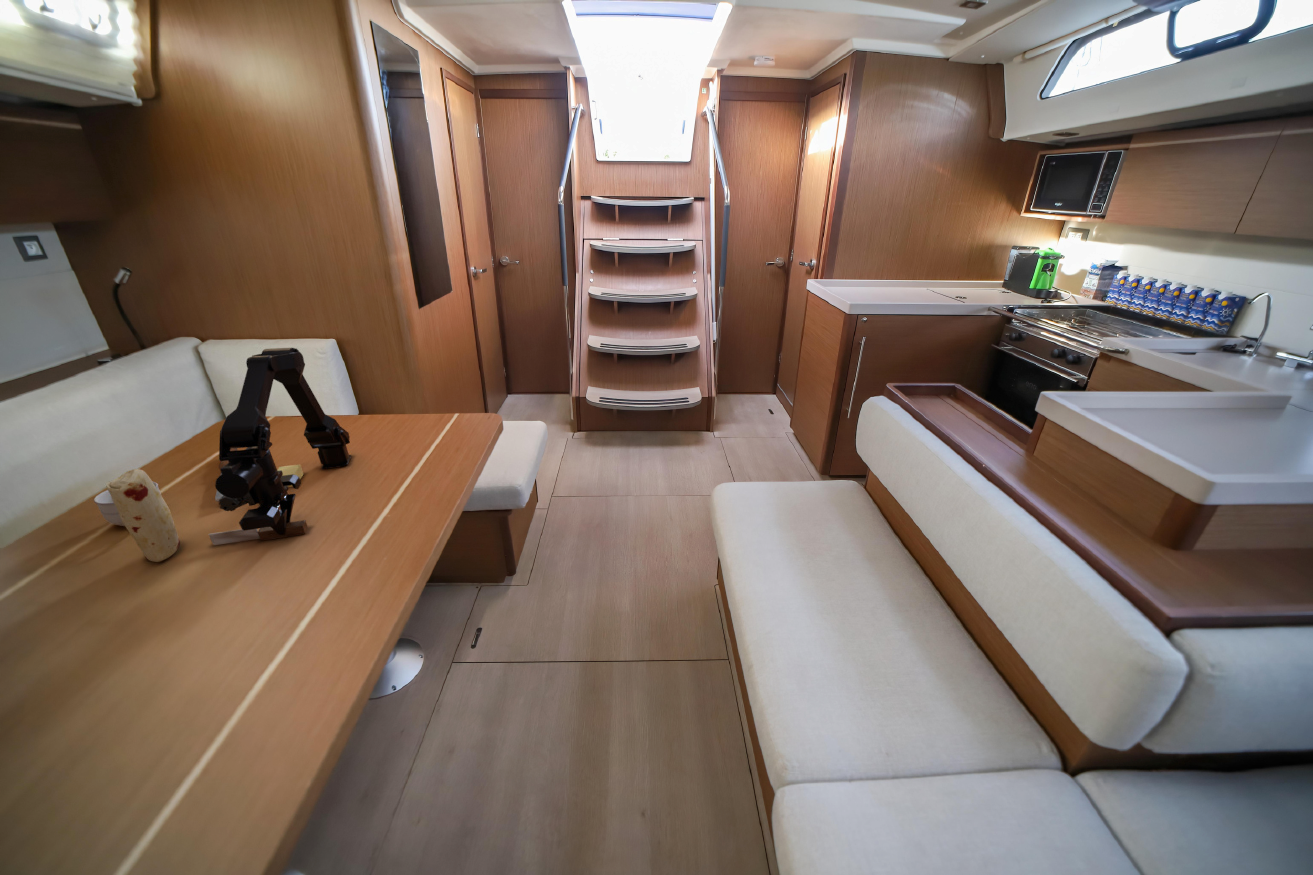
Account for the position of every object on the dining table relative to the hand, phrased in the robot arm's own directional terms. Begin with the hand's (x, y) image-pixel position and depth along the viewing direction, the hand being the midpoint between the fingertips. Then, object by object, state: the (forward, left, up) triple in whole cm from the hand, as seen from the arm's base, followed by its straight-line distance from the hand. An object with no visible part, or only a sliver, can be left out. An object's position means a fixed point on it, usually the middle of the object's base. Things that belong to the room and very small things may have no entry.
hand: (284, 531), depth 117 cm
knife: (+5, 0, -1) cm, 5 cm away
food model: (+23, 0, -1) cm, 23 cm away
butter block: (+7, -27, -1) cm, 28 cm away
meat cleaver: (+20, -35, -1) cm, 40 cm away
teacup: (+35, -16, -1) cm, 38 cm away
